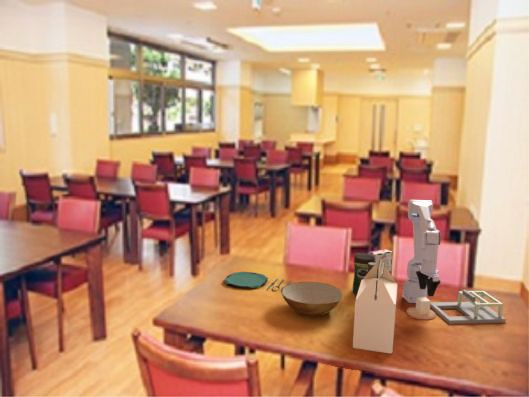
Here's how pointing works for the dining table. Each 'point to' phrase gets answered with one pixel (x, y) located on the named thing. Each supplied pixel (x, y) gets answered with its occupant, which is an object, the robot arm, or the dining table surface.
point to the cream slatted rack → (483, 303)
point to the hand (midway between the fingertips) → (426, 292)
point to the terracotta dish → (415, 314)
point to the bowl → (311, 297)
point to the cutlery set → (249, 280)
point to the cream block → (422, 305)
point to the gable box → (375, 311)
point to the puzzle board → (467, 313)
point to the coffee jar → (361, 269)
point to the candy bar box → (383, 257)
